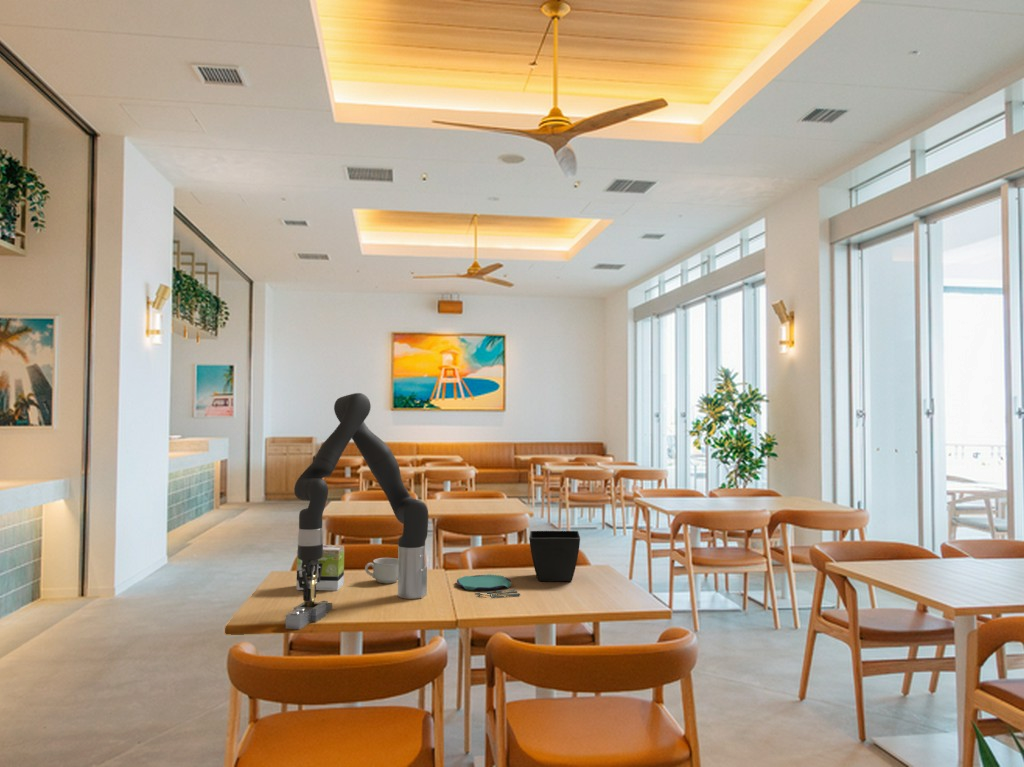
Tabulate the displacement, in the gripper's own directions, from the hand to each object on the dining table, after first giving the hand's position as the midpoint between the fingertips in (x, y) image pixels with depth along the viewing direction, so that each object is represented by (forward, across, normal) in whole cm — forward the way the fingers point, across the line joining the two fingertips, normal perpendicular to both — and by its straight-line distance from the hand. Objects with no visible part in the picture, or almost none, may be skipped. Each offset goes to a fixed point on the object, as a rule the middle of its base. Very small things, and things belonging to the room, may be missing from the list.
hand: (309, 599), depth 236 cm
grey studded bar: (+6, 0, 0) cm, 6 cm away
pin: (+3, 0, 0) cm, 3 cm away
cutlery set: (+6, +49, -45) cm, 67 cm away
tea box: (+6, +39, +14) cm, 42 cm away
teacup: (+6, +52, -5) cm, 53 cm away
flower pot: (+6, +70, -67) cm, 97 cm away
